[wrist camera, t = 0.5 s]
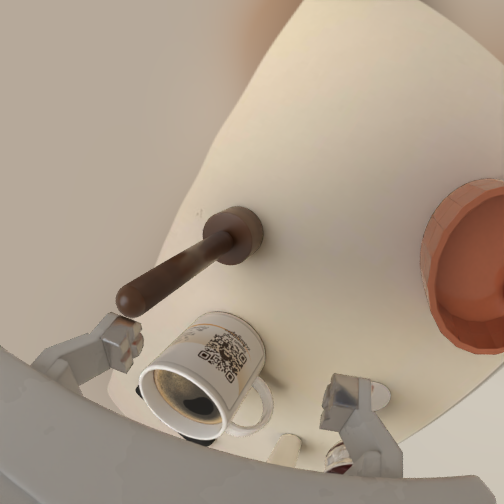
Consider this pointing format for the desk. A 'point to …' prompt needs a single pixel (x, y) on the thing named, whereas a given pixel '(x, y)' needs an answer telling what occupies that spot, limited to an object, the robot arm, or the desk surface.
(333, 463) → the wineglass
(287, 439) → the milkshake
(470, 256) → the bowl
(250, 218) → the brown plunger
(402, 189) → the desk surface
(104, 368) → the robot arm
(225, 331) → the mug
